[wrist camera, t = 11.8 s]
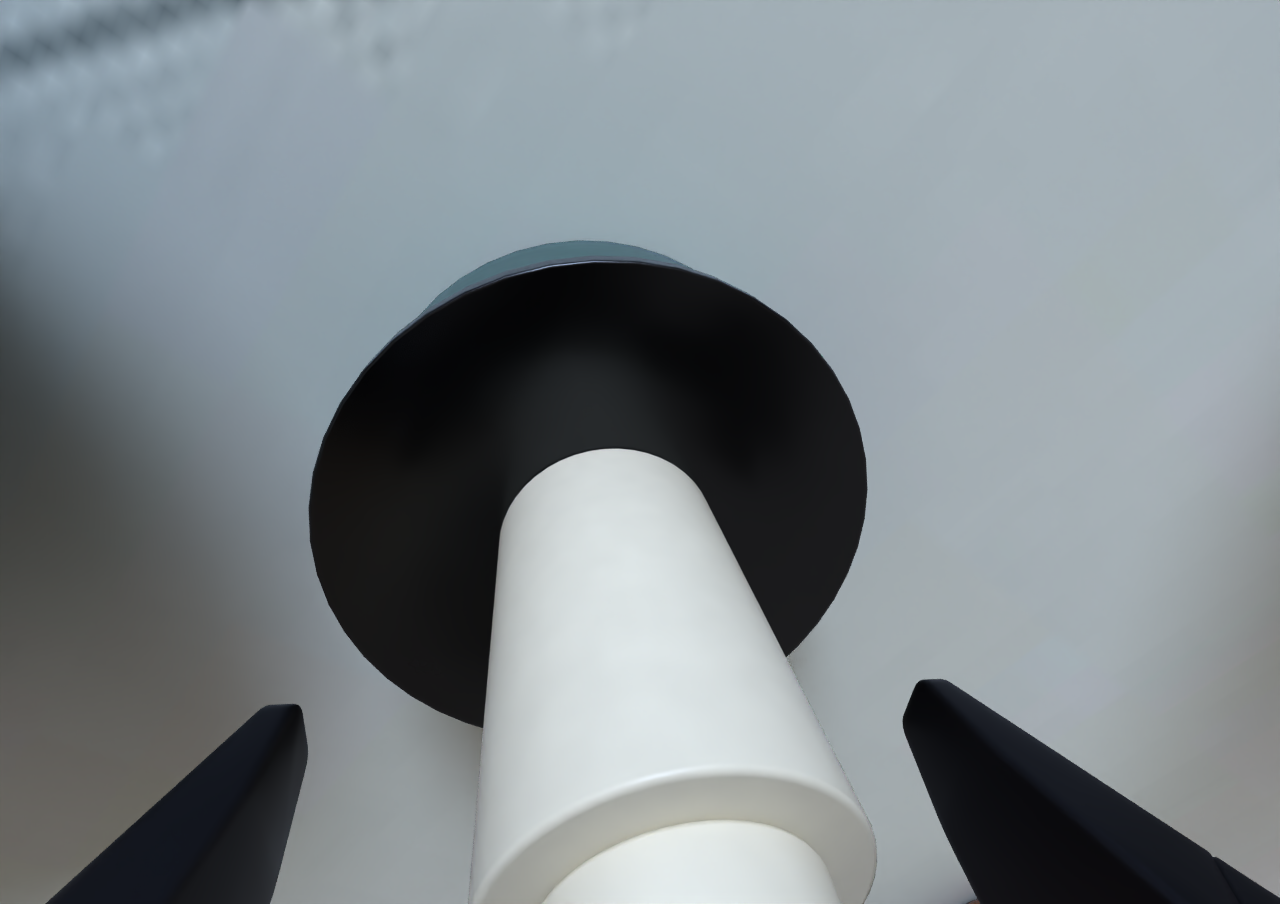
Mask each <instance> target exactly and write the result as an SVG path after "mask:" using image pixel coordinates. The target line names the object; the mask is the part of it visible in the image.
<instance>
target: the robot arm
mask: <svg viewBox="0 0 1280 904" xmlns="http://www.w3.org/2000/svg"><path fill="white" fill-rule="evenodd" d="M903 729H904V733H905V736H906V738H907V741H908V743H909V746H910V748H911V751H912V753H913V756H914V758H915V761H916V763H917V766H918V768H919V771H920V773H921V776H922V778H923V781H924V783H925V786H926V788H927V791H928V793H929V796H930V798H931V801H932V803H933V806H934V808H935V811H936V813H937V816H938V818H939V821H940V823H941V825H942V828H943V830H944V832H945V834H946V836H947V838H948V841H949V843H950V845H951V847H952V849H953V851H954V853H955V855H956V857H957V859H958V861H959V863H960V865H961V867H962V869H963V871H964V873H965V875H966V877H967V879H968V881H969V883H970V885H971V887H972V889H973V891H974V893H975V895H976V897H977V899H978V901H979V903H980V904H1280V898H1279V897H1277V896H1276V895H1274V894H1273V893H1271V892H1270V891H1268V890H1266V889H1265V888H1263V887H1262V886H1260V885H1259V884H1257V883H1256V882H1254V881H1252V880H1251V879H1249V878H1248V877H1246V876H1245V875H1243V874H1242V873H1240V872H1239V871H1237V870H1236V869H1234V868H1233V867H1231V866H1230V865H1228V864H1227V863H1225V862H1224V861H1222V860H1221V859H1219V858H1217V857H1212V855H1211V854H1210V853H1209V852H1208V851H1207V850H1205V849H1204V848H1202V847H1200V846H1199V845H1197V844H1196V843H1194V842H1193V841H1191V840H1190V839H1188V838H1187V837H1185V836H1184V835H1182V834H1181V833H1179V832H1178V831H1176V830H1175V829H1173V828H1172V827H1170V826H1168V825H1167V824H1165V823H1164V822H1162V821H1161V820H1159V819H1158V818H1156V817H1155V816H1153V815H1152V814H1150V813H1149V812H1147V811H1146V810H1144V809H1143V808H1141V807H1139V806H1138V805H1136V804H1135V803H1133V802H1132V801H1130V800H1129V799H1127V798H1126V797H1124V796H1123V795H1121V794H1120V793H1118V792H1117V791H1115V790H1114V789H1112V788H1111V787H1109V786H1107V785H1106V784H1104V783H1103V782H1101V781H1100V780H1098V779H1097V778H1095V777H1094V776H1092V775H1091V774H1089V773H1088V772H1086V771H1085V770H1083V769H1082V768H1080V767H1078V766H1077V765H1075V764H1074V763H1072V762H1071V761H1069V760H1068V759H1066V758H1065V757H1063V756H1062V755H1060V754H1059V753H1057V752H1056V751H1054V750H1053V749H1051V748H1049V747H1048V746H1046V745H1045V744H1043V743H1042V742H1040V741H1039V740H1037V739H1036V738H1034V737H1033V736H1031V735H1030V734H1028V733H1027V732H1025V731H1024V730H1022V729H1021V728H1019V727H1017V726H1016V725H1014V724H1013V723H1011V722H1010V721H1008V720H1007V719H1005V718H1004V717H1002V716H1001V715H999V714H998V713H996V712H995V711H993V710H992V709H990V708H988V707H987V706H985V705H984V704H982V703H981V702H979V701H978V700H976V699H975V698H973V697H972V696H970V695H969V694H967V693H966V692H964V691H963V690H961V689H960V688H958V687H956V686H955V685H953V684H952V683H950V682H949V681H947V680H943V679H928V680H920V681H919V682H918V683H917V684H916V685H915V688H914V690H913V693H912V695H911V698H910V700H909V703H908V705H907V708H906V710H905V713H904V716H903ZM307 758H308V745H307V738H306V732H305V725H304V719H303V713H302V709H301V708H300V706H299V705H296V704H281V705H268V706H265V707H263V708H261V709H260V710H259V711H258V712H257V713H255V714H254V715H253V716H252V717H251V718H250V719H249V720H248V721H247V722H246V723H244V724H243V725H242V726H241V727H240V728H239V729H238V730H237V731H236V732H234V733H233V734H232V735H231V736H230V737H229V738H228V739H227V740H226V741H225V742H223V743H222V744H221V745H220V746H219V747H218V748H217V749H216V750H215V751H213V752H212V753H211V754H210V755H209V756H208V757H207V758H206V759H205V760H204V761H202V762H201V763H200V764H199V765H198V766H197V767H196V768H195V769H194V770H193V771H191V772H190V773H189V774H188V775H187V776H186V777H185V778H184V779H183V780H181V781H180V782H179V783H178V784H177V785H176V786H175V787H174V788H173V789H172V790H170V791H169V792H168V793H167V794H166V795H165V796H164V797H163V798H162V799H161V800H159V801H158V802H157V803H156V804H155V805H154V806H153V807H152V808H151V809H149V810H148V811H147V812H146V813H145V814H144V815H143V816H142V817H141V818H140V819H138V820H137V821H136V822H135V823H134V824H133V825H132V826H131V827H130V828H128V829H127V830H126V831H125V832H124V833H123V834H122V835H121V836H120V837H119V838H117V839H116V840H115V841H114V842H113V843H112V844H111V845H110V846H109V847H108V848H106V849H105V850H104V851H103V852H102V853H101V854H100V855H99V856H98V857H96V858H95V859H94V860H93V861H92V862H91V863H90V864H89V865H88V866H87V867H85V868H84V869H83V870H82V871H81V872H80V873H79V874H78V875H77V876H75V877H74V878H73V879H72V880H71V881H70V882H69V883H68V884H67V885H66V886H64V887H63V888H62V889H61V890H60V891H59V892H58V893H57V894H56V895H55V896H53V897H52V898H51V899H50V900H49V901H48V902H47V903H46V904H270V902H271V899H272V896H273V893H274V889H275V886H276V882H277V878H278V875H279V871H280V867H281V863H282V859H283V855H284V851H285V847H286V844H287V840H288V836H289V832H290V828H291V824H292V820H293V816H294V812H295V808H296V804H297V801H298V797H299V793H300V789H301V785H302V781H303V777H304V773H305V769H306V765H307Z"/></svg>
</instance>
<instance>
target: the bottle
mask: <svg viewBox="0 0 1280 904" xmlns="http://www.w3.org/2000/svg"><path fill="white" fill-rule="evenodd" d="M876 866H877V851H876V840H875V836H874V833H873V829H872V826H871V824H870V822H869V820H868V818H867V816H866V814H865V812H864V810H863V808H862V806H861V804H860V802H859V800H858V798H857V796H856V794H855V792H854V790H853V788H852V786H851V784H850V782H849V780H848V778H847V776H846V774H845V773H844V771H843V769H842V767H841V765H840V763H839V761H838V759H837V757H836V755H835V753H834V751H833V749H832V747H831V745H830V743H829V741H828V739H827V737H826V735H825V733H824V731H823V729H822V727H821V725H820V723H819V721H818V719H817V718H816V716H815V714H814V712H813V710H812V708H811V706H810V704H809V702H808V700H807V698H806V696H805V694H804V692H803V690H802V688H801V686H800V684H799V682H798V680H797V678H796V676H795V674H794V672H793V670H792V668H791V666H790V665H789V663H788V661H787V659H786V657H785V655H784V653H783V651H782V649H781V647H780V645H779V643H778V641H777V639H776V637H775V635H774V633H773V631H772V629H771V627H770V625H769V623H768V621H767V619H766V617H765V615H764V613H763V611H762V610H761V608H760V606H759V604H758V602H757V600H756V598H755V596H754V594H753V592H752V590H751V588H750V586H749V584H748V582H747V580H746V578H745V576H744V574H743V572H742V570H741V568H740V566H739V564H738V562H737V560H736V558H735V556H734V555H733V553H732V551H731V549H730V547H729V545H728V543H727V541H726V539H725V537H724V535H723V533H722V531H721V529H720V527H719V525H718V523H717V521H716V519H715V517H714V515H713V513H712V511H711V509H710V507H709V505H708V503H707V501H706V500H705V498H704V496H703V494H702V492H701V491H700V489H699V488H698V487H697V485H696V484H695V483H694V481H693V480H692V479H691V478H690V477H689V476H687V475H686V474H685V473H684V472H683V471H682V470H680V469H679V468H678V467H676V466H675V465H673V464H671V463H670V462H668V461H666V460H664V459H662V458H659V457H657V456H654V455H651V454H648V453H644V452H640V451H635V450H627V449H600V450H593V451H588V452H584V453H580V454H576V455H573V456H571V457H568V458H566V459H563V460H561V461H559V462H557V463H555V464H553V465H552V466H550V467H548V468H546V469H545V470H544V471H542V472H541V473H539V474H538V475H537V476H535V477H534V478H533V479H532V480H531V481H530V482H529V483H528V484H527V485H526V486H525V487H524V488H523V489H522V490H521V491H520V493H519V494H518V495H517V496H516V498H515V499H514V501H513V502H512V504H511V506H510V507H509V509H508V511H507V514H506V516H505V518H504V521H503V525H502V528H501V532H500V541H499V552H498V563H497V575H496V586H495V598H494V609H493V621H492V632H491V644H490V656H489V667H488V679H487V690H486V702H485V713H484V725H483V736H482V748H481V759H480V771H479V783H478V794H477V806H476V817H475V829H474V840H473V852H472V863H471V875H470V886H469V898H468V904H864V902H865V900H866V898H867V896H868V894H869V892H870V890H871V887H872V884H873V881H874V878H875V872H876Z"/></svg>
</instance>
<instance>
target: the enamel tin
mask: <svg viewBox="0 0 1280 904" xmlns="http://www.w3.org/2000/svg"><path fill="white" fill-rule="evenodd" d="M600 449H627V450H635V451H640V452H644V453H648V454H651V455H654V456H657V457H659V458H662V459H664V460H666V461H668V462H670V463H671V464H673V465H675V466H676V467H678V468H679V469H680V470H682V471H683V472H684V473H685V474H686V475H687V476H689V477H690V478H691V479H692V480H693V481H694V483H695V484H696V485H697V487H698V488H699V489H700V491H701V492H702V494H703V496H704V498H705V500H706V501H707V503H708V505H709V507H710V509H711V511H712V513H713V515H714V517H715V519H716V521H717V523H718V525H719V527H720V529H721V531H722V533H723V535H724V537H725V539H726V541H727V543H728V545H729V547H730V549H731V551H732V553H733V555H734V556H735V558H736V560H737V562H738V564H739V566H740V568H741V570H742V572H743V574H744V576H745V578H746V580H747V582H748V584H749V586H750V588H751V590H752V592H753V594H754V596H755V598H756V600H757V602H758V604H759V606H760V608H761V610H762V611H763V613H764V615H765V617H766V619H767V621H768V623H769V625H770V627H771V629H772V631H773V633H774V635H775V637H776V639H777V641H778V643H779V645H780V647H781V649H782V651H783V653H784V655H785V657H787V656H788V655H789V654H790V653H791V652H792V651H793V650H794V649H795V648H797V647H798V646H799V644H800V643H801V642H802V641H803V640H804V639H805V638H806V636H807V635H808V634H809V633H810V632H811V631H812V629H813V628H814V627H815V626H816V625H817V624H818V622H819V621H820V619H821V618H822V616H823V615H824V614H825V612H826V611H827V609H828V608H829V606H830V605H831V603H832V602H833V600H834V599H835V597H836V595H837V593H838V591H839V589H840V587H841V585H842V584H843V582H844V580H845V578H846V576H847V574H848V571H849V569H850V566H851V564H852V561H853V558H854V556H855V553H856V550H857V548H858V544H859V540H860V536H861V531H862V527H863V523H864V519H865V508H866V498H867V472H866V457H865V452H864V447H863V442H862V437H861V432H860V428H859V425H858V422H857V420H856V417H855V414H854V412H853V409H852V406H851V403H850V401H849V398H848V396H847V395H846V393H845V391H844V389H843V387H842V386H841V384H840V382H839V380H838V378H837V377H836V375H835V373H834V371H833V370H832V368H831V367H830V366H829V365H828V363H827V362H826V361H825V359H824V358H823V357H822V356H821V354H820V353H819V352H818V350H817V349H816V348H815V347H814V345H813V344H812V343H811V342H810V341H809V340H808V339H807V338H806V337H805V336H804V335H802V334H801V333H800V332H799V331H798V330H797V329H796V328H795V327H794V326H793V325H792V324H791V323H790V322H789V321H788V320H786V319H785V318H784V317H782V316H781V315H779V314H778V313H777V312H775V311H774V310H772V309H771V308H769V307H768V306H766V305H765V304H763V303H762V302H760V301H759V300H758V299H756V298H755V297H753V296H751V295H750V294H748V293H747V292H744V291H742V290H740V289H738V288H736V287H734V286H732V285H730V284H728V283H726V282H724V281H722V280H720V279H718V278H716V277H714V276H711V275H708V274H705V273H702V272H699V271H696V270H693V269H692V268H690V267H688V266H686V265H683V264H681V263H679V262H677V261H675V260H673V259H671V258H669V257H667V256H665V255H662V254H658V253H655V252H652V251H649V250H646V249H643V248H640V247H636V246H630V245H624V244H619V243H613V242H604V241H569V242H559V243H549V244H544V245H540V246H536V247H532V248H527V249H523V250H519V251H516V252H513V253H511V254H508V255H506V256H503V257H501V258H498V259H496V260H493V261H491V262H488V263H486V264H485V265H483V266H481V267H479V268H478V269H476V270H474V271H472V272H471V273H469V274H467V275H465V276H464V277H462V278H460V279H459V280H458V281H457V282H455V283H454V284H453V285H451V286H450V287H449V288H448V289H446V290H445V291H444V292H442V293H441V294H440V295H439V296H437V297H436V298H435V300H434V301H433V302H432V303H431V304H430V305H429V306H428V307H427V308H426V309H425V310H424V311H423V312H422V313H421V314H420V315H419V316H418V317H417V318H416V319H415V320H413V321H412V322H411V323H409V324H408V325H407V326H406V327H404V328H403V329H402V330H400V331H399V332H398V333H397V334H396V335H395V336H394V337H393V338H392V339H391V340H390V341H389V342H388V343H387V344H386V345H385V346H384V347H383V349H382V350H381V351H380V352H379V353H378V354H377V355H376V356H375V357H374V358H373V359H372V360H371V361H370V362H369V363H368V365H367V366H366V367H365V368H364V370H363V371H362V372H361V374H360V375H359V377H358V378H357V380H356V381H355V382H354V384H353V385H352V387H351V388H350V390H349V391H348V392H347V394H346V395H345V397H344V398H343V400H342V401H341V402H340V404H339V406H338V408H337V410H336V413H335V415H334V417H333V419H332V421H331V423H330V425H329V427H328V429H327V431H326V433H325V435H324V437H323V440H322V444H321V447H320V451H319V454H318V457H317V461H316V464H315V467H314V471H313V476H312V484H311V492H310V500H309V528H310V543H311V548H312V553H313V557H314V562H315V567H316V572H317V576H318V578H319V581H320V583H321V586H322V589H323V591H324V594H325V596H326V599H327V601H328V604H329V606H330V608H331V609H332V611H333V613H334V615H335V616H336V618H337V620H338V622H339V623H340V625H341V627H342V628H343V630H344V632H345V633H346V634H347V636H348V637H349V638H350V640H351V641H352V642H353V643H354V645H355V646H356V647H357V648H358V650H359V651H360V652H361V653H362V655H363V656H364V657H365V658H366V659H367V660H368V661H369V662H370V663H371V664H372V665H373V666H374V667H375V668H377V669H378V670H379V671H380V672H381V673H382V674H383V675H384V676H385V677H386V678H387V679H389V680H390V681H391V682H393V683H394V684H395V685H397V686H398V687H399V688H401V689H402V690H404V691H405V692H406V693H408V694H409V695H410V696H412V697H414V698H415V699H417V700H419V701H421V702H423V703H424V704H426V705H428V706H430V707H431V708H433V709H435V710H437V711H439V712H441V713H444V714H446V715H448V716H451V717H453V718H455V719H458V720H460V721H463V722H465V723H468V724H471V725H474V726H478V727H481V728H483V725H484V713H485V702H486V690H487V679H488V667H489V656H490V644H491V632H492V621H493V609H494V598H495V586H496V575H497V563H498V552H499V541H500V532H501V528H502V525H503V521H504V518H505V516H506V514H507V511H508V509H509V507H510V506H511V504H512V502H513V501H514V499H515V498H516V496H517V495H518V494H519V493H520V491H521V490H522V489H523V488H524V487H525V486H526V485H527V484H528V483H529V482H530V481H531V480H532V479H533V478H534V477H535V476H537V475H538V474H539V473H541V472H542V471H544V470H545V469H546V468H548V467H550V466H552V465H553V464H555V463H557V462H559V461H561V460H563V459H566V458H568V457H571V456H573V455H576V454H580V453H584V452H588V451H593V450H600Z"/></svg>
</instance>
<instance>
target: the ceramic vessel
mask: <svg viewBox="0 0 1280 904" xmlns="http://www.w3.org/2000/svg"><path fill="white" fill-rule="evenodd" d="M967 904H980V903H979V901H978V899H976V900H973V901H971V902H969V903H967Z"/></svg>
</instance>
